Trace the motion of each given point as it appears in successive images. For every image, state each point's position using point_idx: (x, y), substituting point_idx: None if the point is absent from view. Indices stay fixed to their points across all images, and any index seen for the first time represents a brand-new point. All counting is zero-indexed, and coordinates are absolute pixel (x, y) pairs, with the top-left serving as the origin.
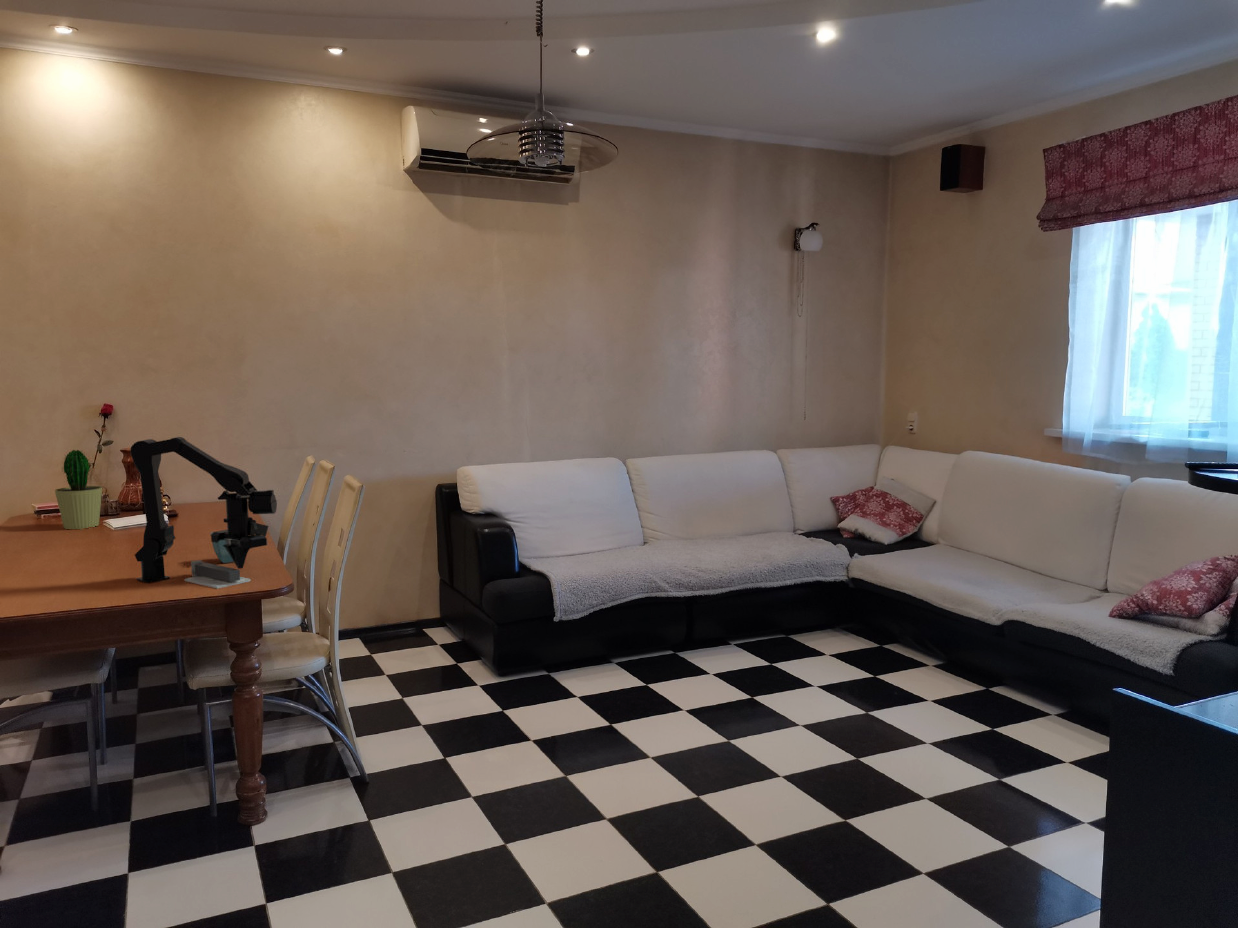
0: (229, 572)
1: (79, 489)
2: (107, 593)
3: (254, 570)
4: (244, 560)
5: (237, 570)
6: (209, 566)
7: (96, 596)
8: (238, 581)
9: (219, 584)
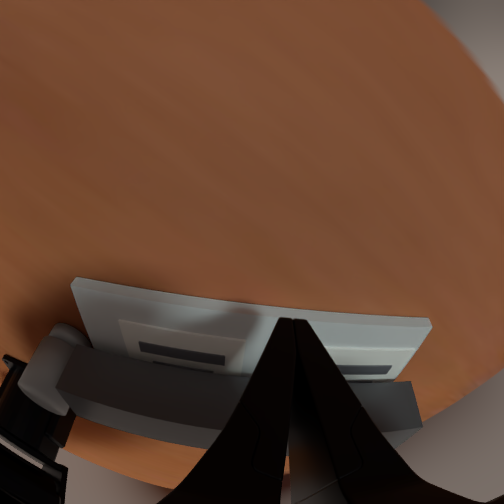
0: (394, 446)
1: None
2: (128, 453)
3: (181, 59)
4: (340, 378)
5: (416, 430)
6: (184, 440)
7: (139, 461)
8: (397, 373)
9: None
